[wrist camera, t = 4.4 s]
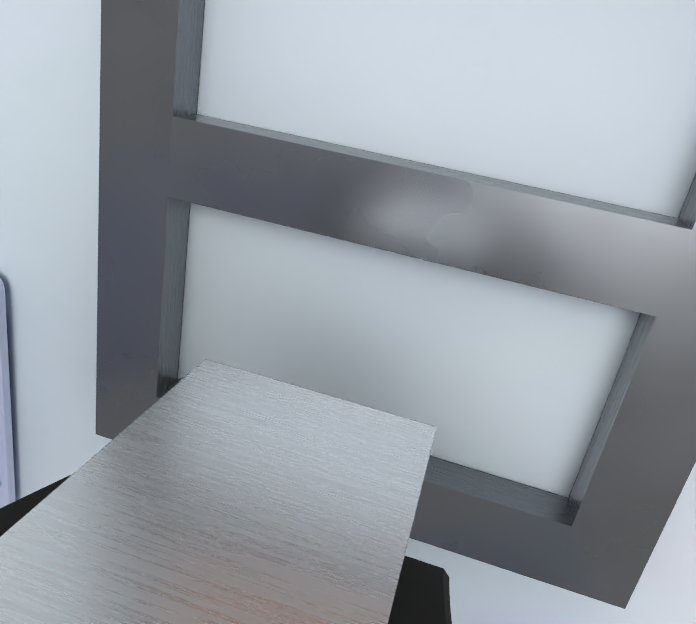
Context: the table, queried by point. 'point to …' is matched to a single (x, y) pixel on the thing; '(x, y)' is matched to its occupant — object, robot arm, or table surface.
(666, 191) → the table surface
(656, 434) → the grey window frame
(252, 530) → the grey metal block
